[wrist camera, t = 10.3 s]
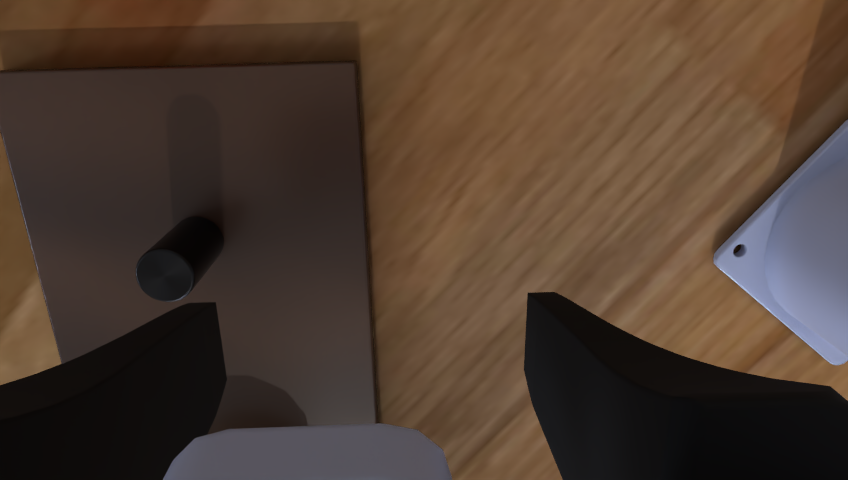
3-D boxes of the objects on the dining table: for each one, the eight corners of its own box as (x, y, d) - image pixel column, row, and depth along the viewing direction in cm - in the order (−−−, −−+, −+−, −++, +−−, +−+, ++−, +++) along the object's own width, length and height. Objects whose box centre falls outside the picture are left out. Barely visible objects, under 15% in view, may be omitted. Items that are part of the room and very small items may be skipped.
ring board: (2, 70, 20) (-99, 80, 16) (357, 60, 21) (347, 68, 16) (135, 593, 28) (90, 691, 24) (388, 579, 29) (386, 672, 24)
